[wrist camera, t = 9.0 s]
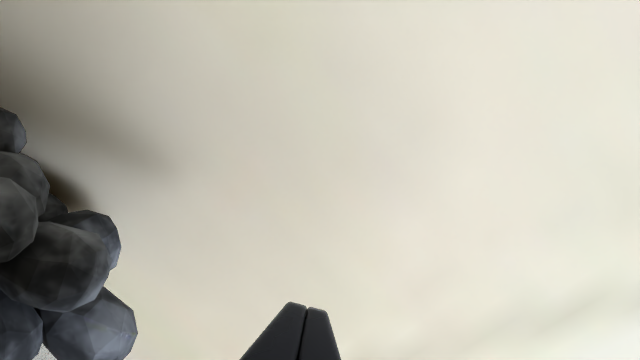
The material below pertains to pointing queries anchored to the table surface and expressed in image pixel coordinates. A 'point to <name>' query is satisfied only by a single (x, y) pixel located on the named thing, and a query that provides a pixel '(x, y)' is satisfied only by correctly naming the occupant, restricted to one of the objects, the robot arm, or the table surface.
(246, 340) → the table surface
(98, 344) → the fruit
